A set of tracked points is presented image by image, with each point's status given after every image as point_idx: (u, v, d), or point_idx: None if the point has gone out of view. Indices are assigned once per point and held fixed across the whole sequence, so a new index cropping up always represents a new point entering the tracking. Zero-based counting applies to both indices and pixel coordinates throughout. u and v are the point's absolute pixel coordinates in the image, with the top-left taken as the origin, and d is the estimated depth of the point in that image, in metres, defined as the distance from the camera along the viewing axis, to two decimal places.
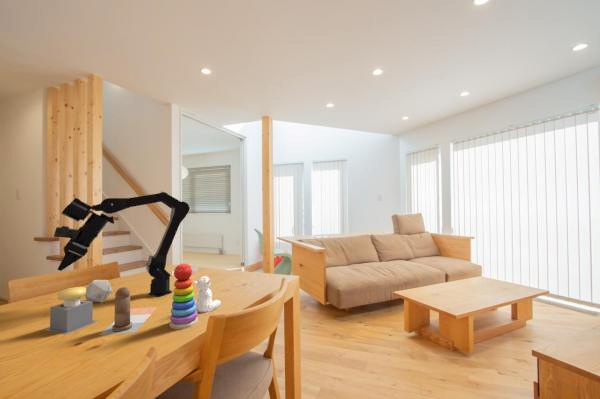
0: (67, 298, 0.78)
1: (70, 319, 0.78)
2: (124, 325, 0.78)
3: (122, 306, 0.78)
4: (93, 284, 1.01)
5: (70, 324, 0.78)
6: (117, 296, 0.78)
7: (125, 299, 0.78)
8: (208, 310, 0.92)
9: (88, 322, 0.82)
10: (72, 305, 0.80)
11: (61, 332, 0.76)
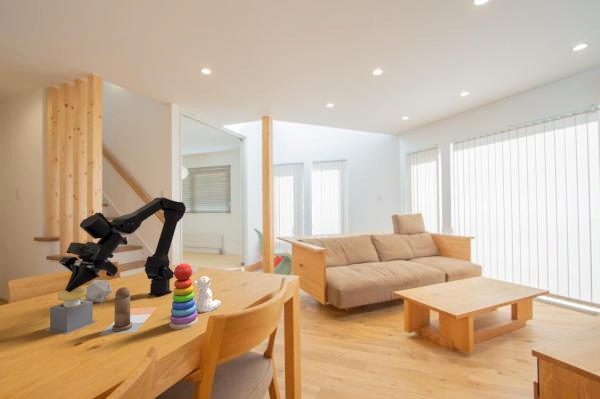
0: (67, 299, 0.78)
1: (70, 319, 0.78)
2: (124, 325, 0.78)
3: (122, 306, 0.78)
4: (93, 284, 1.01)
5: (70, 324, 0.78)
6: (117, 296, 0.78)
7: (125, 299, 0.78)
8: (208, 310, 0.92)
9: (88, 322, 0.82)
10: (72, 306, 0.80)
11: (61, 332, 0.76)
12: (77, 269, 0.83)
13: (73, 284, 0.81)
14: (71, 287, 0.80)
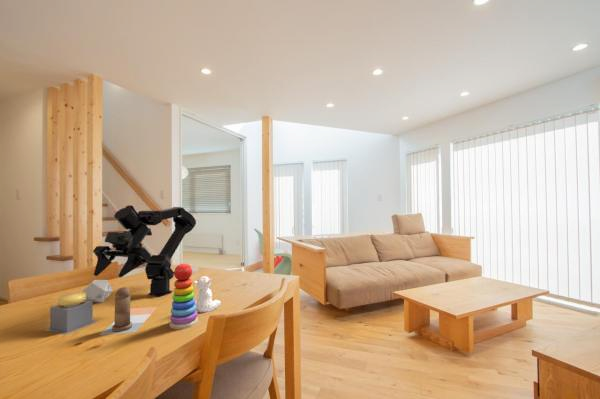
0: (67, 304, 0.78)
1: (70, 319, 0.78)
2: (124, 325, 0.78)
3: (122, 306, 0.78)
4: (93, 284, 1.01)
5: (70, 324, 0.78)
6: (117, 296, 0.78)
7: (125, 299, 0.78)
8: (208, 310, 0.92)
9: (88, 322, 0.82)
10: None
11: (61, 332, 0.76)
12: (102, 256, 0.92)
13: (124, 270, 0.88)
14: (122, 273, 0.88)
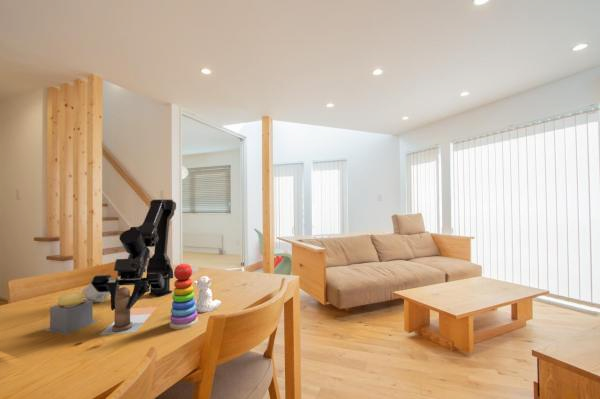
0: (67, 304, 0.78)
1: (70, 319, 0.78)
2: (124, 325, 0.78)
3: (122, 306, 0.78)
4: None
5: (70, 324, 0.78)
6: (117, 296, 0.78)
7: (125, 299, 0.78)
8: (208, 310, 0.92)
9: (88, 322, 0.82)
10: None
11: (61, 332, 0.76)
12: (116, 286, 0.81)
13: (132, 301, 0.79)
14: (131, 304, 0.79)
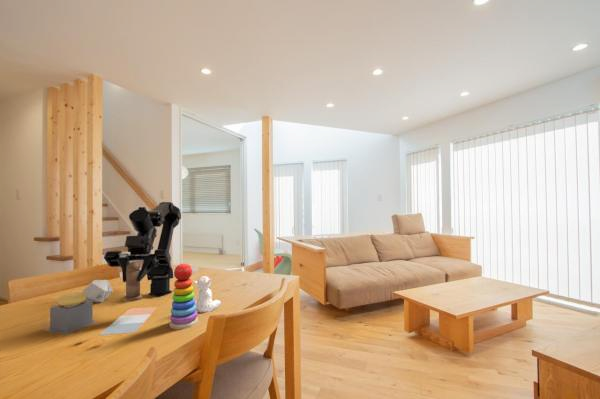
0: (67, 304, 0.78)
1: (70, 319, 0.78)
2: (135, 296, 0.85)
3: (133, 278, 0.85)
4: (93, 284, 1.01)
5: (70, 324, 0.78)
6: (128, 269, 0.85)
7: (135, 272, 0.85)
8: (208, 310, 0.92)
9: (88, 322, 0.82)
10: None
11: (61, 332, 0.76)
12: (126, 261, 0.88)
13: (142, 274, 0.86)
14: (141, 277, 0.86)
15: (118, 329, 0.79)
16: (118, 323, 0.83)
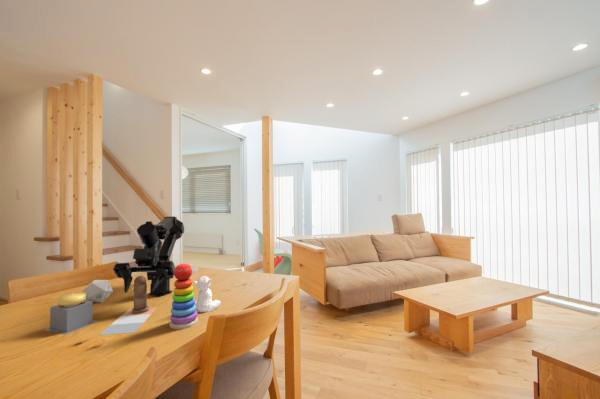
0: (67, 304, 0.78)
1: (70, 319, 0.78)
2: (142, 308, 0.91)
3: (140, 291, 0.90)
4: (93, 284, 1.01)
5: (70, 324, 0.78)
6: (136, 283, 0.90)
7: (142, 286, 0.91)
8: (208, 310, 0.92)
9: (88, 322, 0.82)
10: None
11: (61, 332, 0.76)
12: (128, 273, 0.93)
13: (155, 284, 0.93)
14: (154, 287, 0.92)
15: (118, 329, 0.79)
16: (118, 323, 0.83)
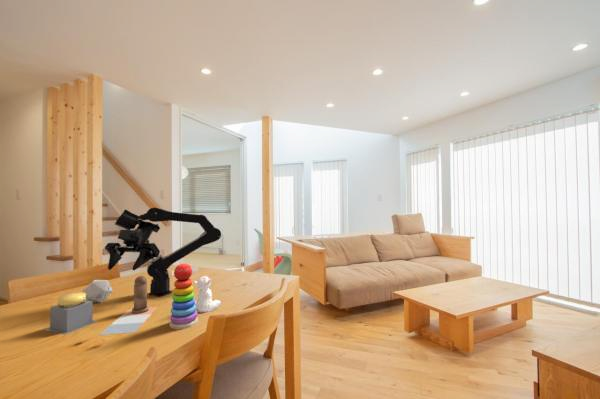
0: (67, 304, 0.78)
1: (70, 319, 0.78)
2: (142, 308, 0.91)
3: (140, 291, 0.90)
4: (93, 284, 1.01)
5: (70, 324, 0.78)
6: (136, 283, 0.90)
7: (143, 286, 0.91)
8: (208, 310, 0.92)
9: (88, 322, 0.82)
10: None
11: (61, 332, 0.76)
12: (114, 252, 1.01)
13: (137, 264, 0.98)
14: (135, 266, 0.98)
15: (118, 329, 0.79)
16: (118, 323, 0.83)
